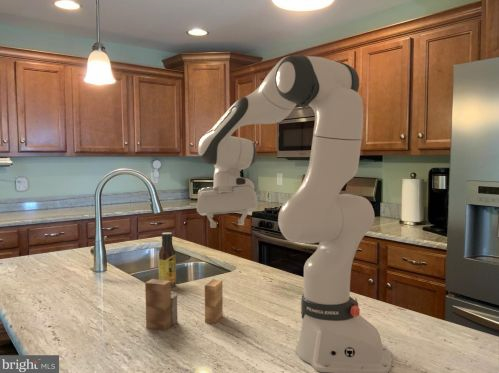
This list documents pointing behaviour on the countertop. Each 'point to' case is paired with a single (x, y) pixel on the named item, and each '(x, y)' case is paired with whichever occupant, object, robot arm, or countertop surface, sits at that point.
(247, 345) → the countertop surface
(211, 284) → the light brown wooden block
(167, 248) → the sauce bottle
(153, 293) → the hinge post
